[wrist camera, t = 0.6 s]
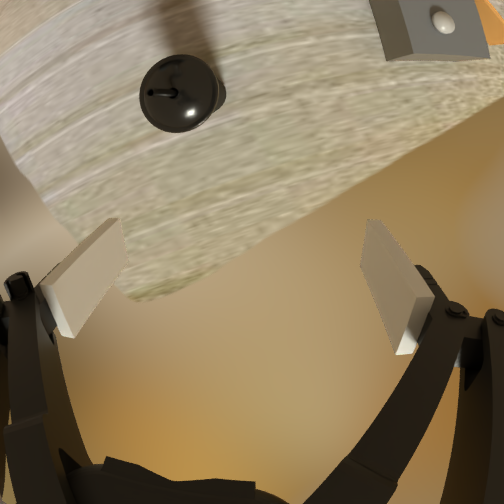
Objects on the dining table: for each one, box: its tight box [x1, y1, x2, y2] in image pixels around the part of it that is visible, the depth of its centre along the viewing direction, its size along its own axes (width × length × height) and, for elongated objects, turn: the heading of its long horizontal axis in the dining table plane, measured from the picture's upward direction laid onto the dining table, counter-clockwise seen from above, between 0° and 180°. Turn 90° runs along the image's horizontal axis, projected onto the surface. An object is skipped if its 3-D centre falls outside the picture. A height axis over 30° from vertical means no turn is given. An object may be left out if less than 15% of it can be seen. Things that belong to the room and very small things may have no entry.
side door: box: [474, 0, 504, 45], centre depth 21 cm, size 12×2×7 cm, turn 54°
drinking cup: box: [139, 55, 226, 133], centre depth 28 cm, size 8×8×20 cm
